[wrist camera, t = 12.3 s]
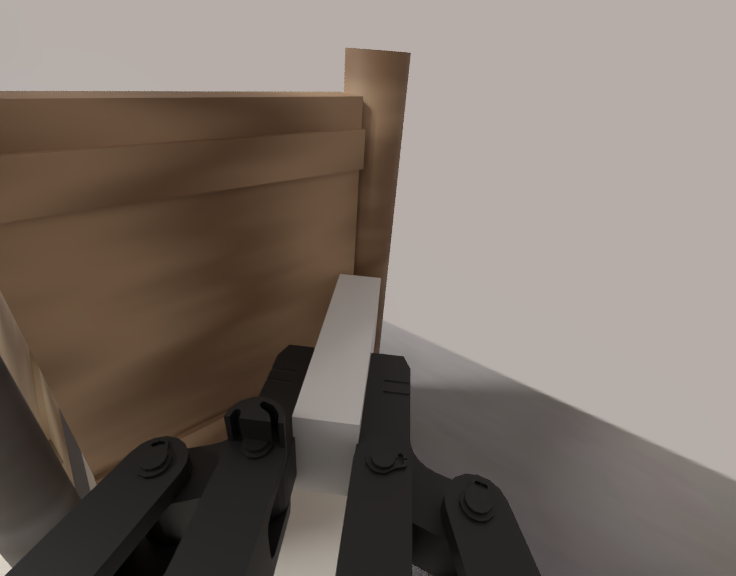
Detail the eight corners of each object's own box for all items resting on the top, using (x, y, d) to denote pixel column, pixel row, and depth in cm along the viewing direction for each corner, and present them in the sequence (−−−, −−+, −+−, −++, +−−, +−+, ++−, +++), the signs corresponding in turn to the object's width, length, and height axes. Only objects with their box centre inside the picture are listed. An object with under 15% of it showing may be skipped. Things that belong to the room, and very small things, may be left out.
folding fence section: (123, 539, 12) (-149, 5, 5) (109, 491, 14) (-126, 7, 6) (384, 385, 19) (423, 54, 12) (358, 362, 20) (380, 51, 13)
